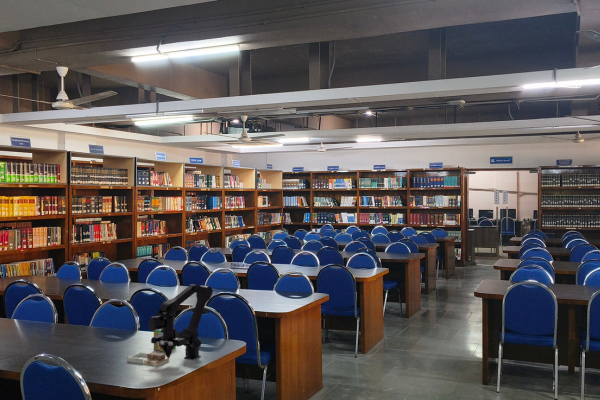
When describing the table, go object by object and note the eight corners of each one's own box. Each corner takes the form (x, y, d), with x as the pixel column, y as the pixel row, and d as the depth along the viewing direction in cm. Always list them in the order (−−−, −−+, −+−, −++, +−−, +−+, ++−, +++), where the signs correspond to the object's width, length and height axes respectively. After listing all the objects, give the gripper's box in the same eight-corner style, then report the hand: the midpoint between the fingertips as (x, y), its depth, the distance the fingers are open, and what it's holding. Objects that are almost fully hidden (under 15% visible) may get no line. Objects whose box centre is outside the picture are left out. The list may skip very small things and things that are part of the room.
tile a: (165, 358, 272) (165, 353, 272) (159, 360, 269) (159, 355, 269) (159, 357, 274) (159, 353, 274) (153, 359, 270) (153, 355, 270)
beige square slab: (169, 361, 274) (169, 357, 274) (157, 366, 266) (157, 362, 266) (155, 359, 278) (155, 355, 278) (143, 364, 270) (143, 360, 270)
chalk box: (164, 352, 293) (164, 325, 293) (153, 350, 298) (152, 323, 298) (176, 348, 301) (176, 322, 301) (164, 346, 306) (164, 320, 306)
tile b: (158, 357, 274) (158, 353, 274) (153, 359, 271) (153, 354, 271) (152, 356, 276) (152, 352, 276) (147, 358, 272) (147, 354, 272)
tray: (155, 359, 279) (155, 354, 279) (142, 364, 270) (142, 359, 270) (140, 356, 284) (140, 352, 284) (127, 361, 275) (127, 357, 275)
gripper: (192, 325, 272) (193, 355, 272) (164, 322, 280) (165, 351, 280) (178, 330, 262) (179, 361, 262) (150, 326, 270) (150, 357, 270)
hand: (168, 357), depth 269 cm, fingers closed
